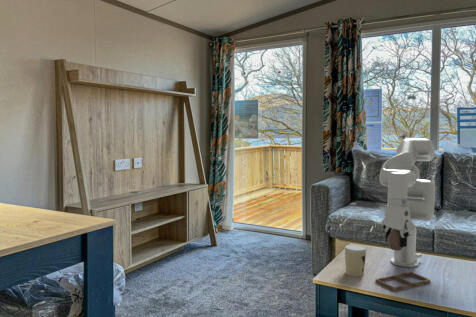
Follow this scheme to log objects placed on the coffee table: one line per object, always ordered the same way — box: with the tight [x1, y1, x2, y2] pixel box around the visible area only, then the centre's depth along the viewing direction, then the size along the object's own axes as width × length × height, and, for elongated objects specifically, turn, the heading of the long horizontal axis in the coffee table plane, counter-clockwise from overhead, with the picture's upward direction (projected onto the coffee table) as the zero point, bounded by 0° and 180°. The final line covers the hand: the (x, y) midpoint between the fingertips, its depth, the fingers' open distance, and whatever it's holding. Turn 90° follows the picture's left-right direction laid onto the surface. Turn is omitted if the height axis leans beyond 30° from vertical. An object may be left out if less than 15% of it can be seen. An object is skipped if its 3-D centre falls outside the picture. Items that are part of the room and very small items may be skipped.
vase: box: [386, 229, 404, 251], centre depth 160 cm, size 7×7×9 cm
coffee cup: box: [344, 244, 367, 277], centre depth 174 cm, size 9×9×12 cm
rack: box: [375, 271, 431, 292], centre depth 165 cm, size 21×13×2 cm, turn 115°
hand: (396, 243), depth 161 cm, fingers closed on vase, 6 cm apart
